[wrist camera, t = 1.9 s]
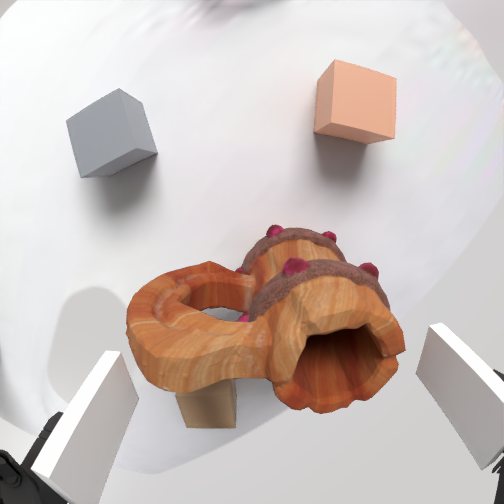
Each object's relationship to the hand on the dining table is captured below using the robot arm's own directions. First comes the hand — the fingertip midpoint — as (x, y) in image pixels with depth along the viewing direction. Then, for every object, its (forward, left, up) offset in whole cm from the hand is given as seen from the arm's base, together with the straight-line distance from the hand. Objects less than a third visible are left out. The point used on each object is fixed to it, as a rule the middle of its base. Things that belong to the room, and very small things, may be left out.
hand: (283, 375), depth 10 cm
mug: (0, 0, -15) cm, 15 cm away
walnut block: (-6, -13, -15) cm, 20 cm away
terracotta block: (+8, +13, -15) cm, 21 cm away
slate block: (-11, +12, -15) cm, 22 cm away
